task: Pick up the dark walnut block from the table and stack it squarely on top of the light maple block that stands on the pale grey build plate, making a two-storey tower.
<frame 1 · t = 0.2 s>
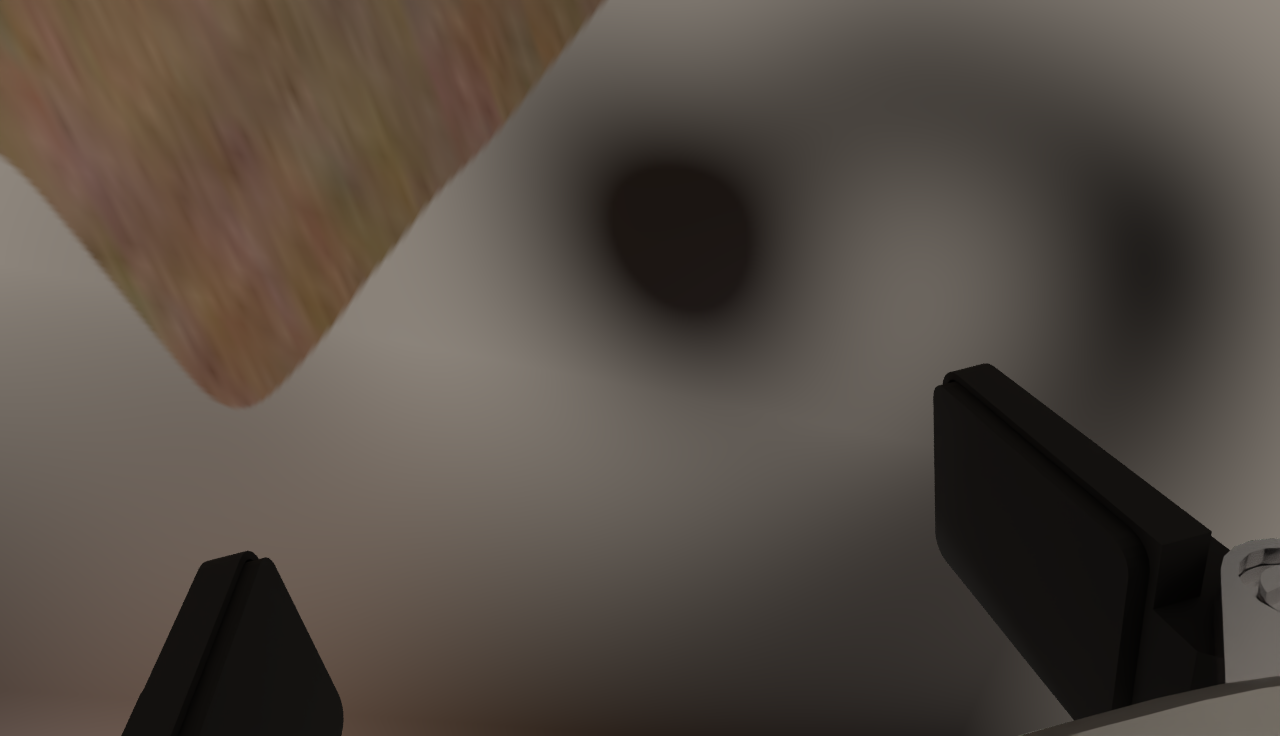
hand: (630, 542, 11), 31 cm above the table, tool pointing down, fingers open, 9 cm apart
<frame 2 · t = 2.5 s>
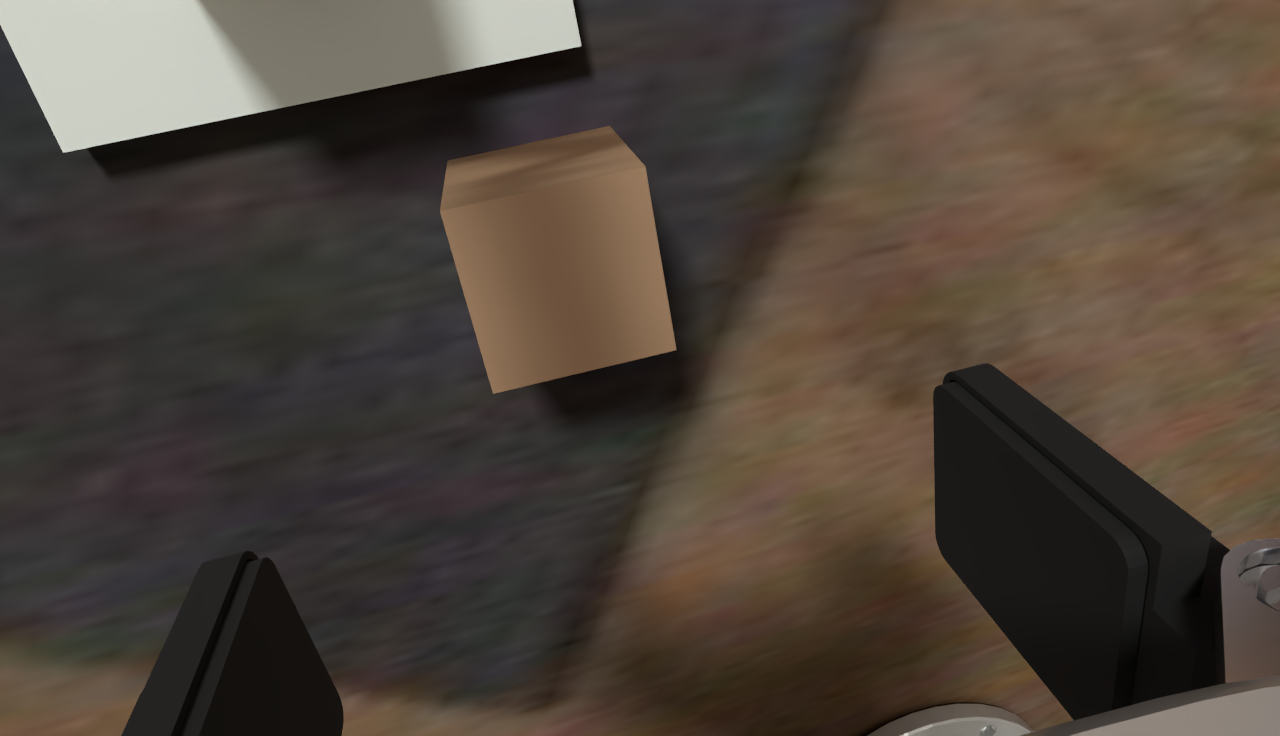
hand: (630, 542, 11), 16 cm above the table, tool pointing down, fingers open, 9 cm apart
walnut block: (547, 221, 26), on the table
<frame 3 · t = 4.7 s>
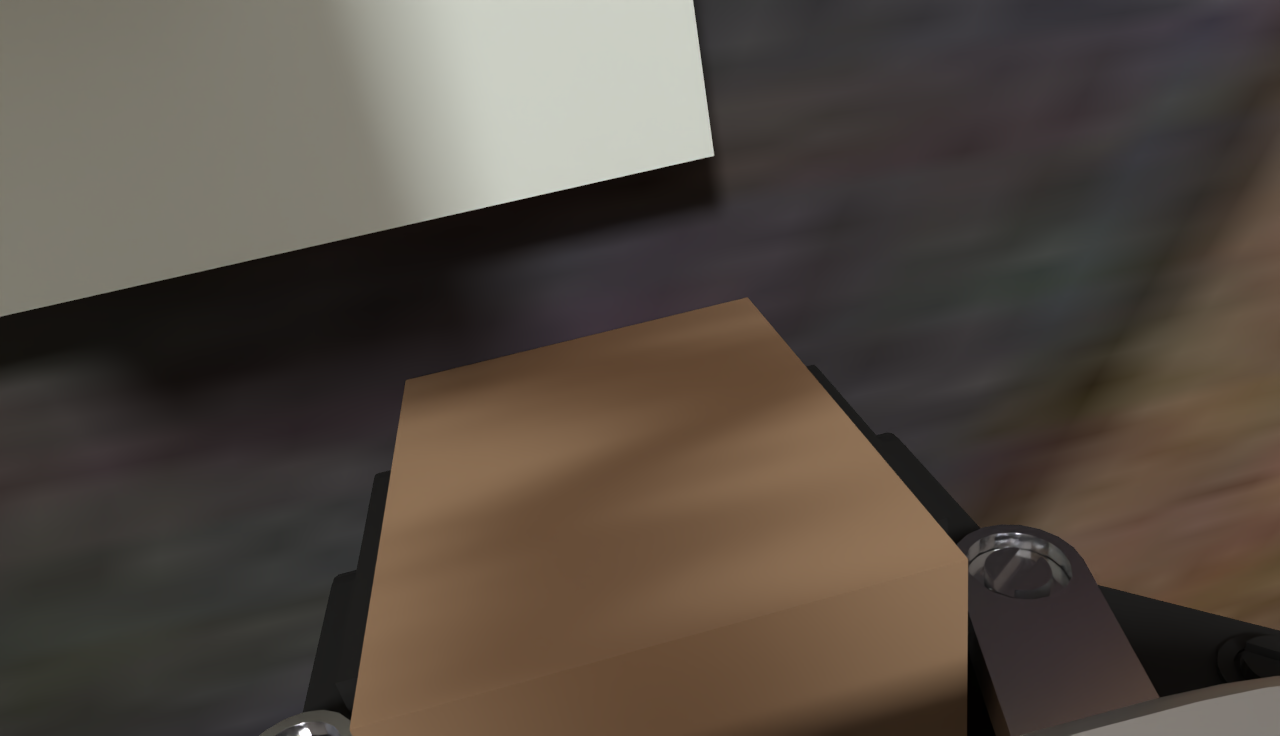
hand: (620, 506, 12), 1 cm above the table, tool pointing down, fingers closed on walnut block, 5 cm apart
walnut block: (613, 480, 13), on the table, touching gripper
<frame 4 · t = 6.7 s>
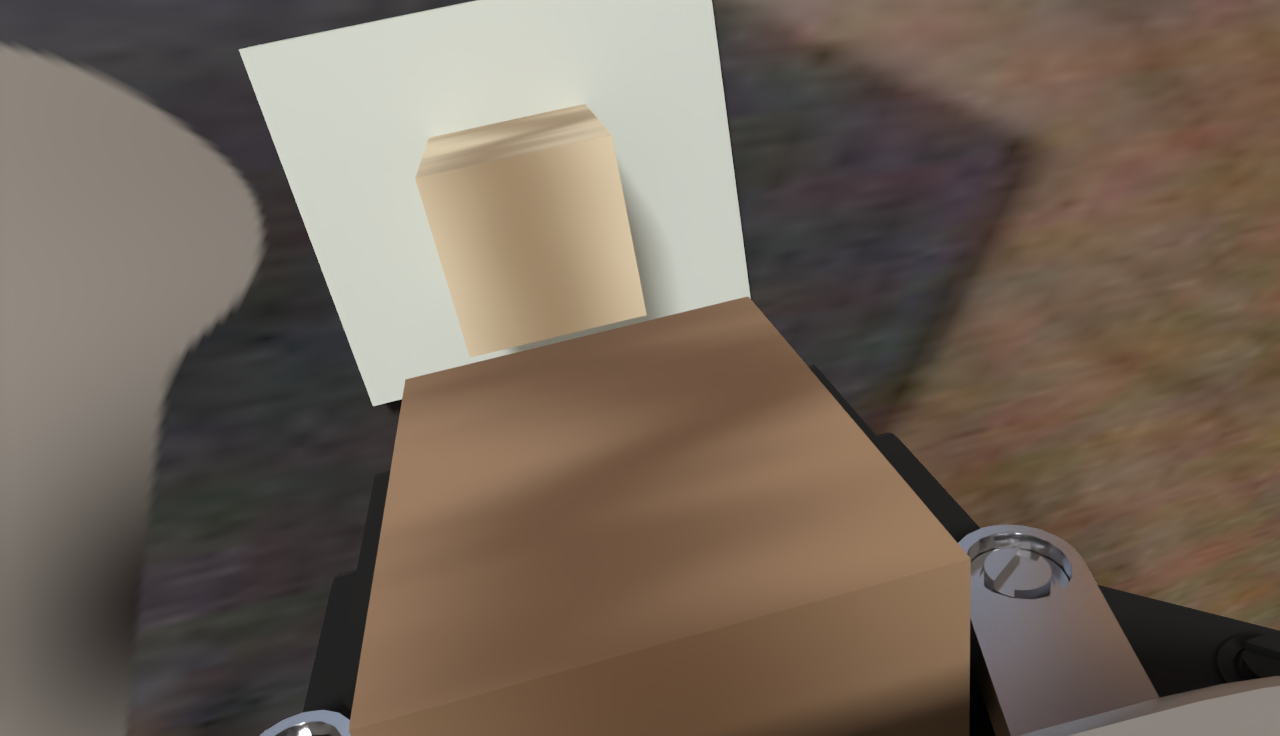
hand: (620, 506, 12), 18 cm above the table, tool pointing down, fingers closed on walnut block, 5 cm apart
walnut block: (613, 479, 13), point 17 cm above the table, touching gripper
maple block: (526, 197, 27), point 1 cm above the table, touching build plate
build plate: (524, 189, 28), on the table
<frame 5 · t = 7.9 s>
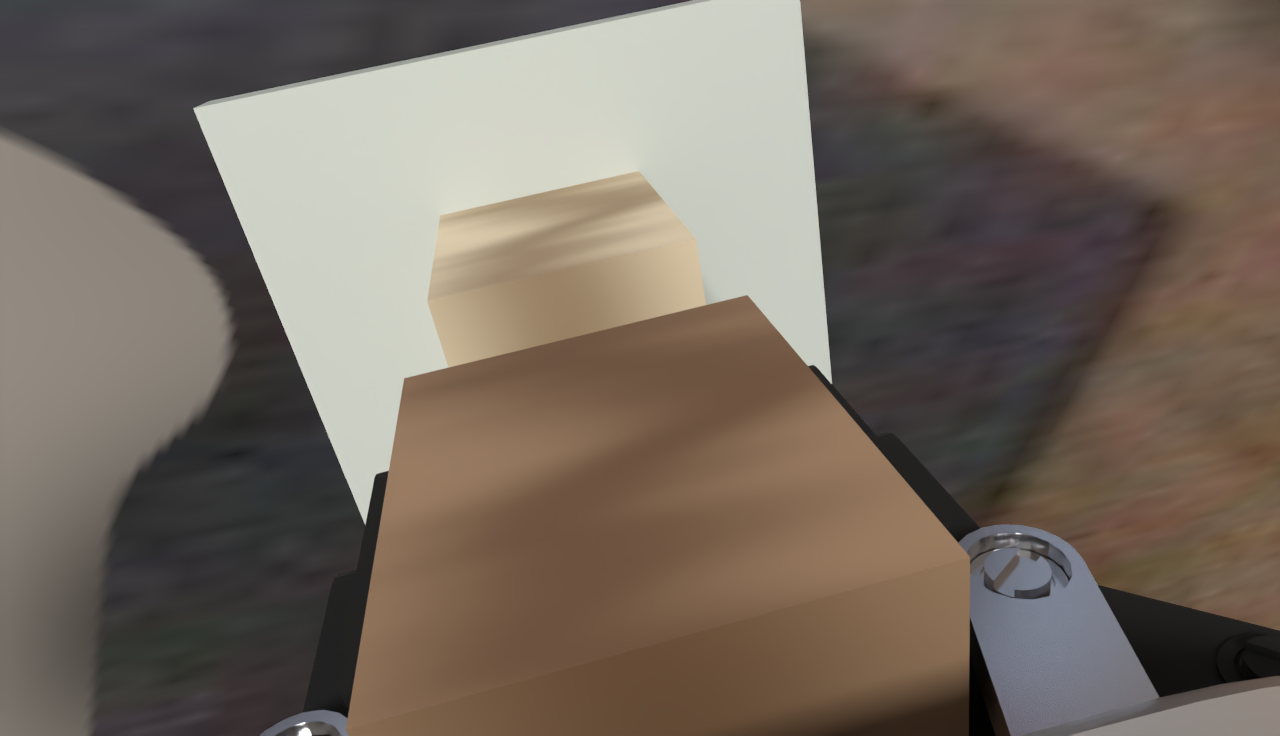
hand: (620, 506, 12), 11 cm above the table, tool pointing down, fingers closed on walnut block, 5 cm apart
walnut block: (612, 478, 13), point 11 cm above the table, touching gripper
maple block: (562, 286, 21), point 1 cm above the table, touching build plate
build plate: (558, 271, 23), on the table
when the fingers open (9 cm above the table, at t = 8.8 s): walnut block stays where it is, resting on maple block.
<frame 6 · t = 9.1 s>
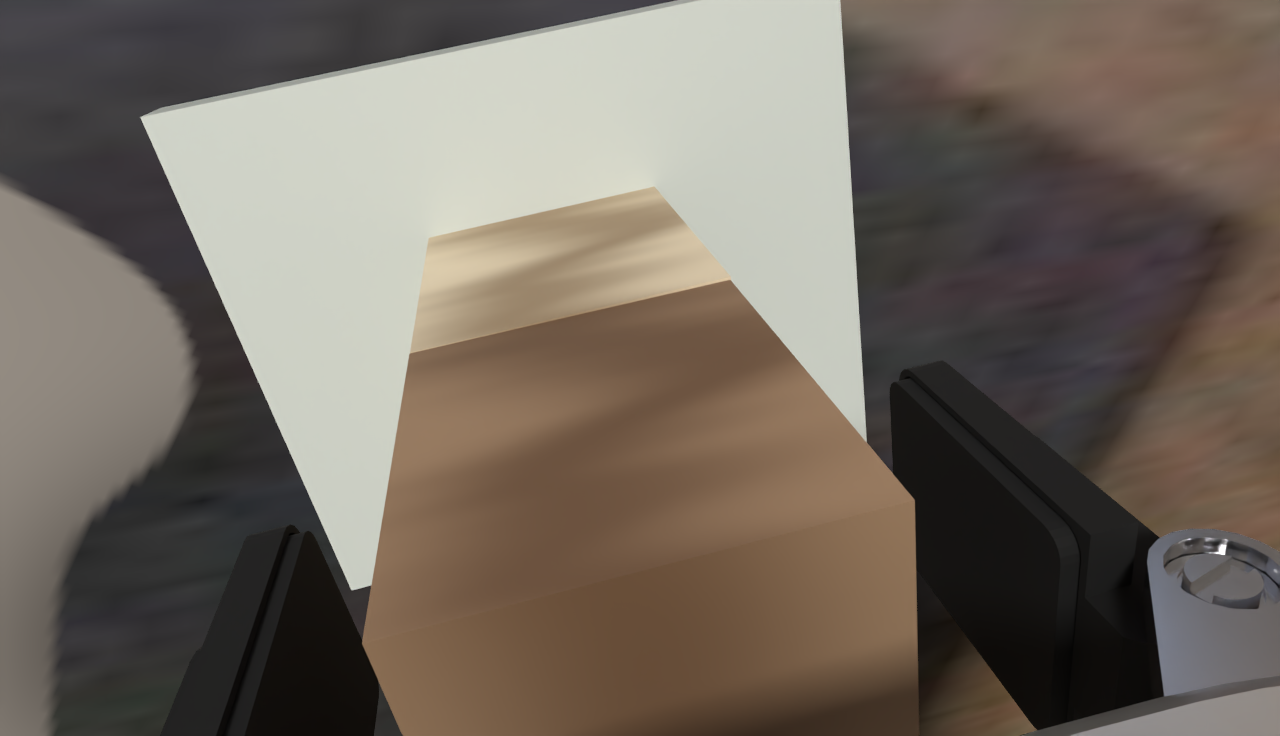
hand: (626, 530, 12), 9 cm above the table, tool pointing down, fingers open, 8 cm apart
walnut block: (603, 452, 14), point 7 cm above the table, touching maple block
maple block: (567, 315, 19), point 1 cm above the table, touching build plate, walnut block
build plate: (562, 297, 20), on the table
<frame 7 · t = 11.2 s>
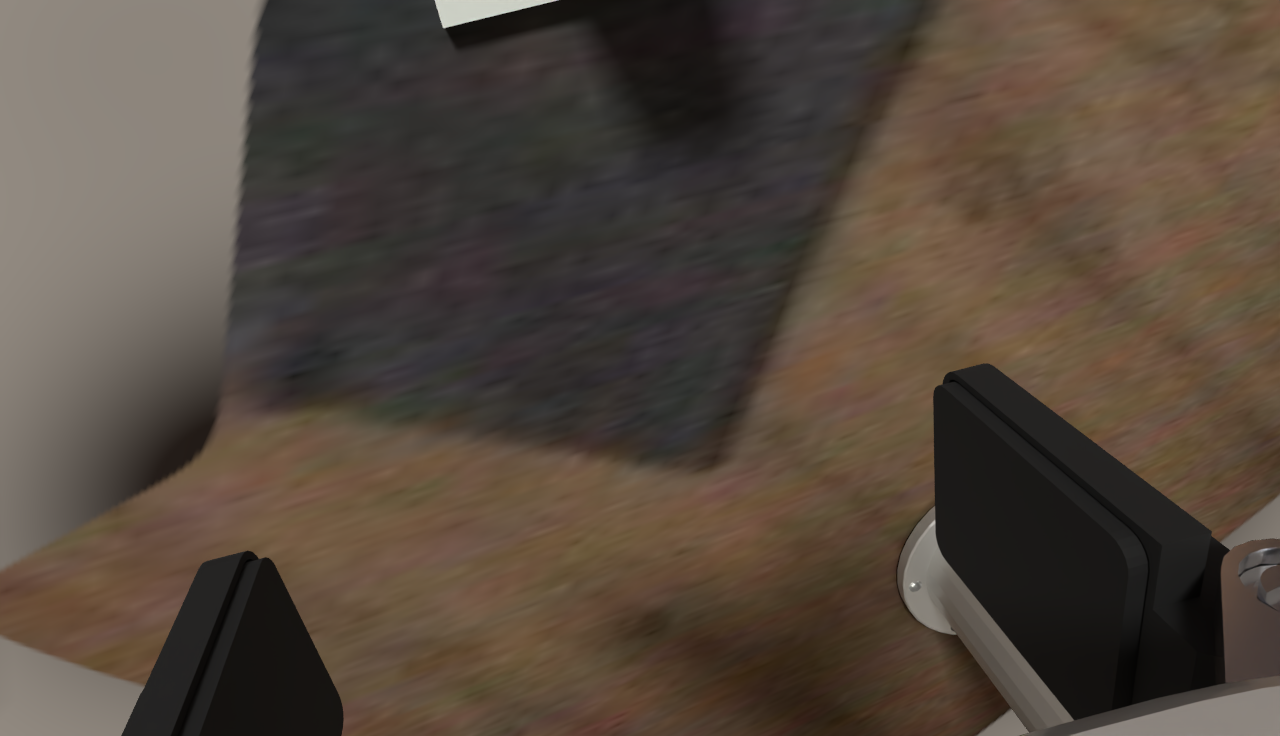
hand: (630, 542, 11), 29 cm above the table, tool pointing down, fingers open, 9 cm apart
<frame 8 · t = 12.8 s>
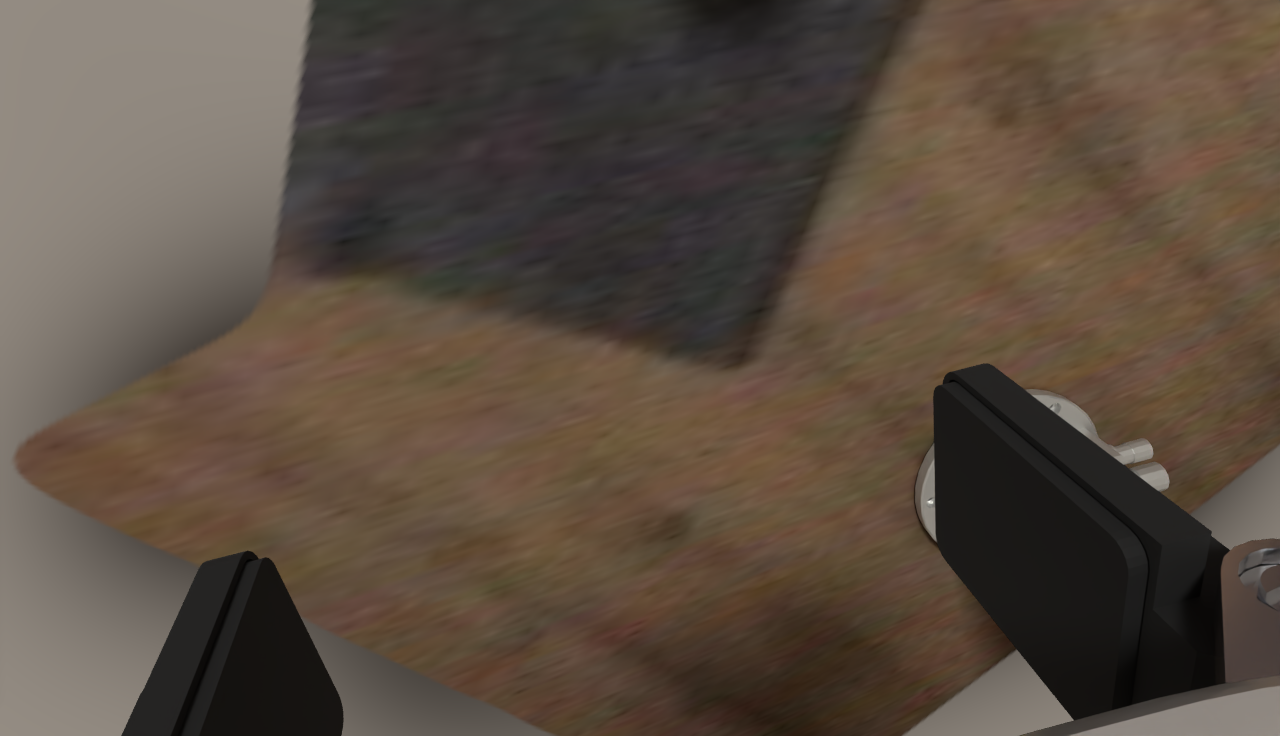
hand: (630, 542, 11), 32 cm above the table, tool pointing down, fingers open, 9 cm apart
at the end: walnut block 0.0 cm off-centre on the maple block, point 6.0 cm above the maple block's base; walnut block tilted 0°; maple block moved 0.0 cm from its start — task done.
